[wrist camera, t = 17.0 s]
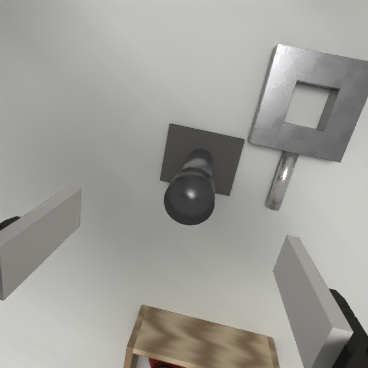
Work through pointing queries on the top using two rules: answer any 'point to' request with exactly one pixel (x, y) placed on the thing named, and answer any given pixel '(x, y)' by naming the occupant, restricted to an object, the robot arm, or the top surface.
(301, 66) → the grey metal flat frame
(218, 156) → the rubber mat
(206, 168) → the flashlight
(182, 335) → the wooden parts corral
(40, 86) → the top surface
